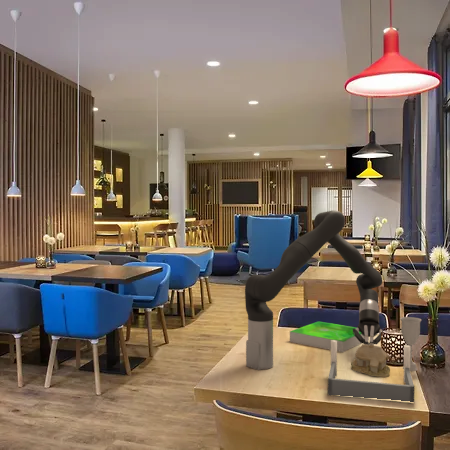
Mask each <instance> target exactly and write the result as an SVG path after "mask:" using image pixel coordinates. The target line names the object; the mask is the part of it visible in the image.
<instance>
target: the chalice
mask: <svg viewBox="0 0 450 450" xmlns="http://www.w3.org/2000/svg"><path fill="white" fill-rule="evenodd" d="M399 320H400V321H401V329H400V330H401V335H402V337H403V339H404V341H405V343H406V344H407V345H408V346H410V372H416V371H418V370H419V369H418V366H417V365H416V364H417V363H415V362H414V361H413V357H414V354H413V351H414V349H413V346H414V345H415V344H416V343H417V341H418V339H419V337H420V335H421V322H422V319H421V318H419V317H413V316H412V317H411V316H402V317H400V318H399ZM406 344H405V345H406ZM402 369H403V370H404V366H402Z"/></svg>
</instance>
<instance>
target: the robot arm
mask: <svg viewBox="0 0 450 450" xmlns="http://www.w3.org/2000/svg"><path fill="white" fill-rule="evenodd" d="M345 224H346V218H345V215H344V214H343V213H342V212H341V211H339V210H328V211H323V212H319V213H318V214H316V216H315V217H314V220H313V225H314V227H315V228H314V229H312V230H310V231H309V232H307V233H305V234H303V235H301V236H299V237H298V238H297V239H295V240H293V242H291V244H290V245H289V244H288V245H289V246H287V247H286V248H285V249H284V250H283V252H282V254H281V257H280V262H279V264H278V265H277V267H276V268H275V269H273V270H272V271H271V272H270V273H269V274H268V275H262V274H252V275H250V276H249V277H248V278H247V280H246V282H245V287H244V299H245V300H244V301H245V303H244V304H245V312H246V314H247V340H246V342H245V358H246V359H245V366H246V367H248V368H251V369H254V370H258V371H260V370H267V369H271V368H273V366H274V313H273V311H272V310H271V308H270V307H269V306H268V304H267V302H271V301H273V300H274V299H275V298H276V297H277V296H278V295H279V294H280V292H281V290H283V288H284V287H285V285H286V284H287V283H288V282H289V281H290V280H291V279H292V278H293V277H294V276H295V275H296V274H297V272H299V271H300V269H301V268H303V267H304V266H305V265H306V264H307V263H308V262H309V261H310V260H311V259H312V258H313V257H314V255H316V254H317V253H318V252H319V251H320V249H322V247H324V245H325V244H327V242H328V243H329V245H330V246H331V247H333V249H334V250H335V251H336V252H337V253H338V254H339V255H340V256H341V258H342V260H343V261H344V262H345V263H346V265H347V266H348V267H349V269H350V270H351V272H352V273H353V274H355V275H356V274H357V277H356V281H355V283H356V287H357V289H358V293H359V307H358V308H359V309H358V310H359V311H358V325H357V327H356V329H355V328H353V334H354V336H355V337H356V338H357V339H358V340H359V342H360V343H361V344H367V345H369V344H370V343H373V344H374V345H378V344H379V343H380V342H381V341H382V340H381V332H382V331H386V330H383V329H382V328H381V325H380V308H379V294H378V291H376V290H375V288H378V287H380V286H381V285H382V284H383V276H382V275H381V273H380V272H379V270H377V269H376V268H375V267H374V266H373V265H371V264H370V263H369V262H368V261H366V259H365V258H364V256H363V255H362V253H361V252H360V251H359V250H358V249H357V247H355V246H354V245H353V244H352V243H350V242H348V241H347V240H346V239H345V238H344V237H342V236H341V235H340V234H339V233H340V232H342V230H343V229H344V227H345ZM358 274H359V275H358ZM359 331H360V332H361V334H362V335H363V336H364V338H365V339H363V337H362V336H361V335H360V334H359ZM368 337H369V340H368Z"/></svg>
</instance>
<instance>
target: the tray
mask: <svg viewBox="0 0 450 450" xmlns="http://www.w3.org/2000/svg"><path fill="white" fill-rule="evenodd" d="M353 328H355V329H356V328H357V327H356V326H355V327H354V326H351V325H350V326H349V325H342V324H336V323H331V322H324V321H316V322H313V323H310V324H307V325H304V326H301V327H299V328H295V329H293V330H290V331H289V342H290V343H294V344H299V345H304V346H310V347H314V348H320V349H324V350H329V351H331V340H336V341H337V353H338V352H339V353H344V352H347V351H349V350H350V349H352V348H355V347H357V346H359V345H361V344H362V343H360V342H359V340H358V339H357V338H356V337H355V336H354V334H353ZM359 334H360V335H361V336H362V337H363V339H365V338H364V336H363V335H362V334H361V332H360V331H359ZM368 341H370V337H368Z"/></svg>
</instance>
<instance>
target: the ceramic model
mask: <svg viewBox="0 0 450 450" xmlns="http://www.w3.org/2000/svg"><path fill="white" fill-rule="evenodd" d="M369 343H370V342H369ZM354 357H355V358H354V359H353V360H352V361H351V362H350V368H351V370H353V371H355V372H359V373H363V374H366V375H368V376H372V377H380V378H381V377H384V378H385V377H389V376H390V371H391V368H390V366H388V365H387V361H389V354H388V353H387V352H386V351H385V350H384V349H383V348H382V347H381V346H379V345H375V344H373V343H370V344H369V345H367V344H364V343H362V345H360V346H359V347H357V349H356V352H355V356H354Z"/></svg>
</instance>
